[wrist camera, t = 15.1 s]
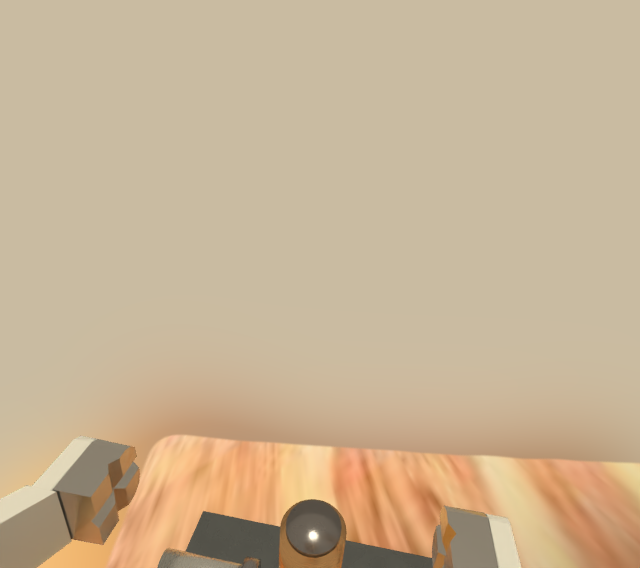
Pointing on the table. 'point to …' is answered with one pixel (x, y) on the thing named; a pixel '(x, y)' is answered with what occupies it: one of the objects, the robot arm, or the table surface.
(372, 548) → the shaft bench
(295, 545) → the amber capped cylinder
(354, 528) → the table surface
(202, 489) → the table surface
